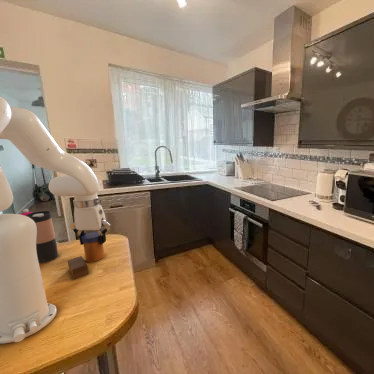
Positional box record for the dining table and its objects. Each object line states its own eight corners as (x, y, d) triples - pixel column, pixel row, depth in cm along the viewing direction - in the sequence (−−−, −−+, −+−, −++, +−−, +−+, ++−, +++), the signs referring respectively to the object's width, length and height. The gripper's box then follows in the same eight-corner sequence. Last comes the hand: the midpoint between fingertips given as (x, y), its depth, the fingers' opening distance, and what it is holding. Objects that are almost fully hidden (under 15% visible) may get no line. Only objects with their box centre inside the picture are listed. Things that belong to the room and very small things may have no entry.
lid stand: (88, 274, 82) (87, 264, 81) (74, 279, 78) (72, 269, 78) (83, 264, 87) (81, 255, 87) (69, 269, 84) (67, 260, 83)
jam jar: (106, 257, 93) (103, 236, 91) (87, 263, 88) (84, 241, 86) (102, 252, 97) (99, 232, 95) (84, 258, 92) (80, 237, 90)
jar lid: (89, 235, 94) (89, 231, 94) (106, 235, 95) (105, 231, 94) (77, 243, 87) (77, 238, 87) (95, 242, 88) (95, 238, 87)
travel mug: (41, 255, 94) (32, 211, 90) (62, 252, 96) (54, 210, 92) (29, 264, 87) (19, 217, 83) (53, 261, 89) (43, 216, 85)
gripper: (114, 200, 91) (119, 239, 95) (71, 200, 91) (78, 239, 95) (103, 205, 84) (109, 247, 88) (57, 205, 83) (65, 247, 87)
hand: (93, 242), depth 91 cm, fingers closed on jar lid, 7 cm apart
